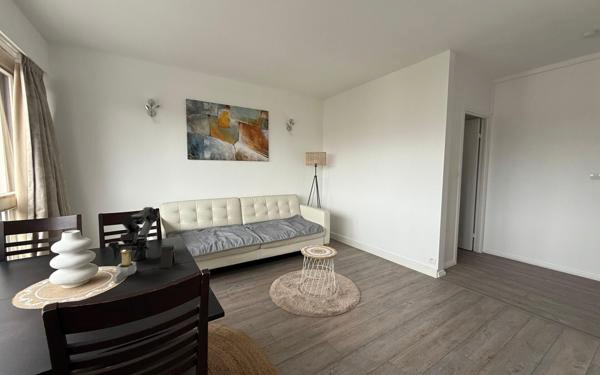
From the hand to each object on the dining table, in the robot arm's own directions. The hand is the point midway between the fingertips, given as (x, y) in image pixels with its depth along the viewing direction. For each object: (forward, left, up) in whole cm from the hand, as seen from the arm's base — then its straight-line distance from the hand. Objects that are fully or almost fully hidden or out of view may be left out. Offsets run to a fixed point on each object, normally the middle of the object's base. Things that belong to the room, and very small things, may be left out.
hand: (124, 259), depth 135 cm
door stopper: (-5, +20, -8) cm, 23 cm away
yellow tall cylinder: (-1, 0, -8) cm, 8 cm away
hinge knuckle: (-1, 0, -8) cm, 8 cm away
